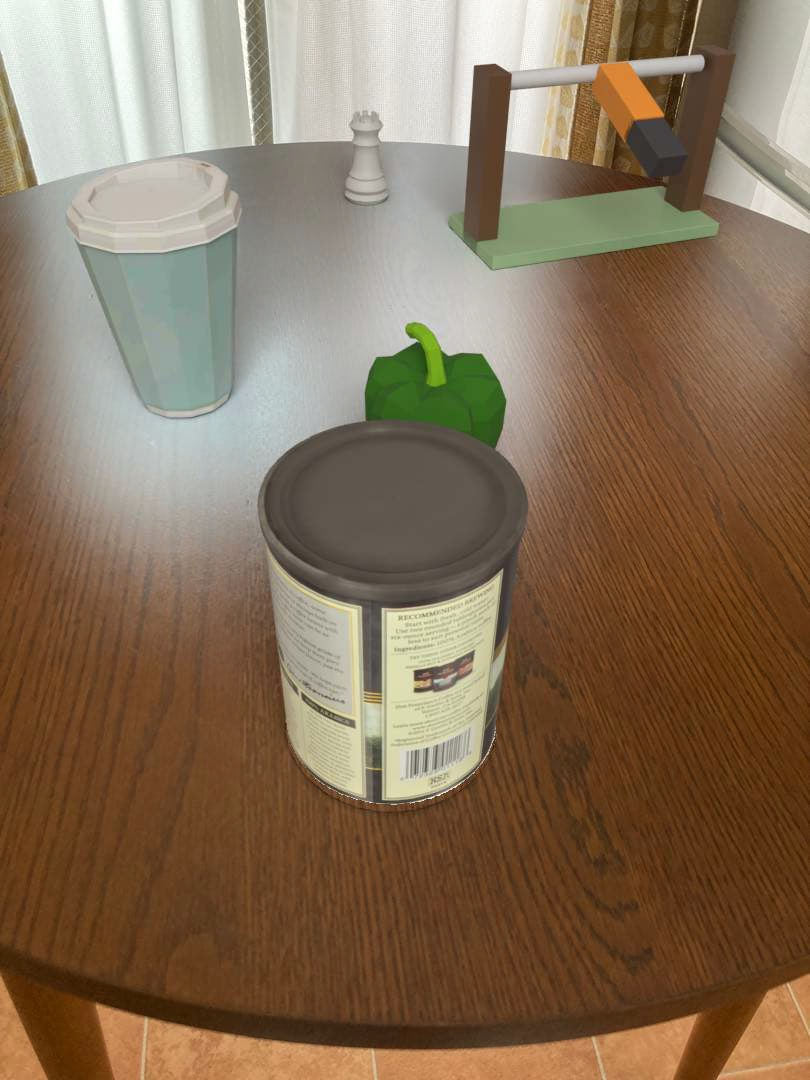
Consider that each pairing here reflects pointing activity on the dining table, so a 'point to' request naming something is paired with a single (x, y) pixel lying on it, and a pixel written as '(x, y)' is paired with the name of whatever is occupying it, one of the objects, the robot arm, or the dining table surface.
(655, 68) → the foosball rod
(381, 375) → the bell pepper
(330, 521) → the coffee can
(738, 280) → the dining table surface
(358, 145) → the rook chess piece
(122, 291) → the disposable coffee cup
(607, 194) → the foosball stand
